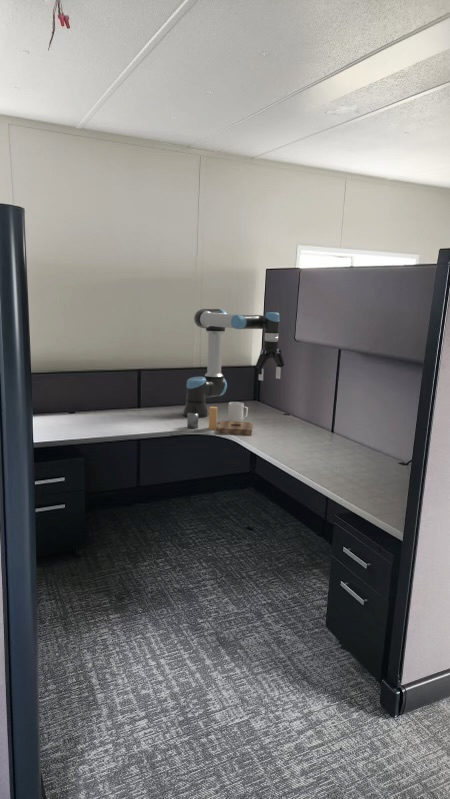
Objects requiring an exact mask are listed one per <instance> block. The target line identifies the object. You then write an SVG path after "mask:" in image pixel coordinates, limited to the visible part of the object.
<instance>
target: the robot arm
mask: <svg viewBox="0 0 450 799" xmlns="http://www.w3.org/2000/svg"><path fill="white" fill-rule="evenodd" d="M193 320H194V321H193V322H194V324H195V325H196V326H197V327H198V328H201V329H205V332H206V333H207V334H208V335H207V337H208V338H207V339H208V340H207V341H208V342H207V369H206V370H207V372H206V373H205V374H204V376H193V377H190V378H188V379H187V380H186V398H185V399H186V400H185V401H186V403H185V405H184V409H183V411H182V416H184V417H186V418H187V413H198V419H199V418H206V417H209V412H208V409H207V405H206V399H207V398H213V397H215V398H217V397H220V396H223V395H225V393H226V392H227V388H228V383H227V380H226V379H225V377H224V374H223V373H222V357H223V355H222V354H223V353H222V352H223V334H224V333H225V332H226V328H229V329H235V330H264V346H263V347H264V349H260V352H259V356H258V359H257V361H256V363H255V367H256V368H257V369H258V370H257V374H258V381H264V366H265V364H266V363H267V361H268V360H270V359H273V360H274V363H275V364H276V367H275V379H278V380H279V379H281V373H282V368H283V367H284V366H285V362H284V358H283V355H282V349H280V348H278V347H279V342H278V341H279V335H280V334H279V333H280V332H279V331H280V321H281V320H280V313H279V312H274V311H273V312H271V311H269V312H265V315H262V314H260V315H259V314H246V315H245V314H231V313H227V311H226V310H224V309H222V308H201V309H198V310H197V311H196V312H195V314H194V317H193Z"/></svg>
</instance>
